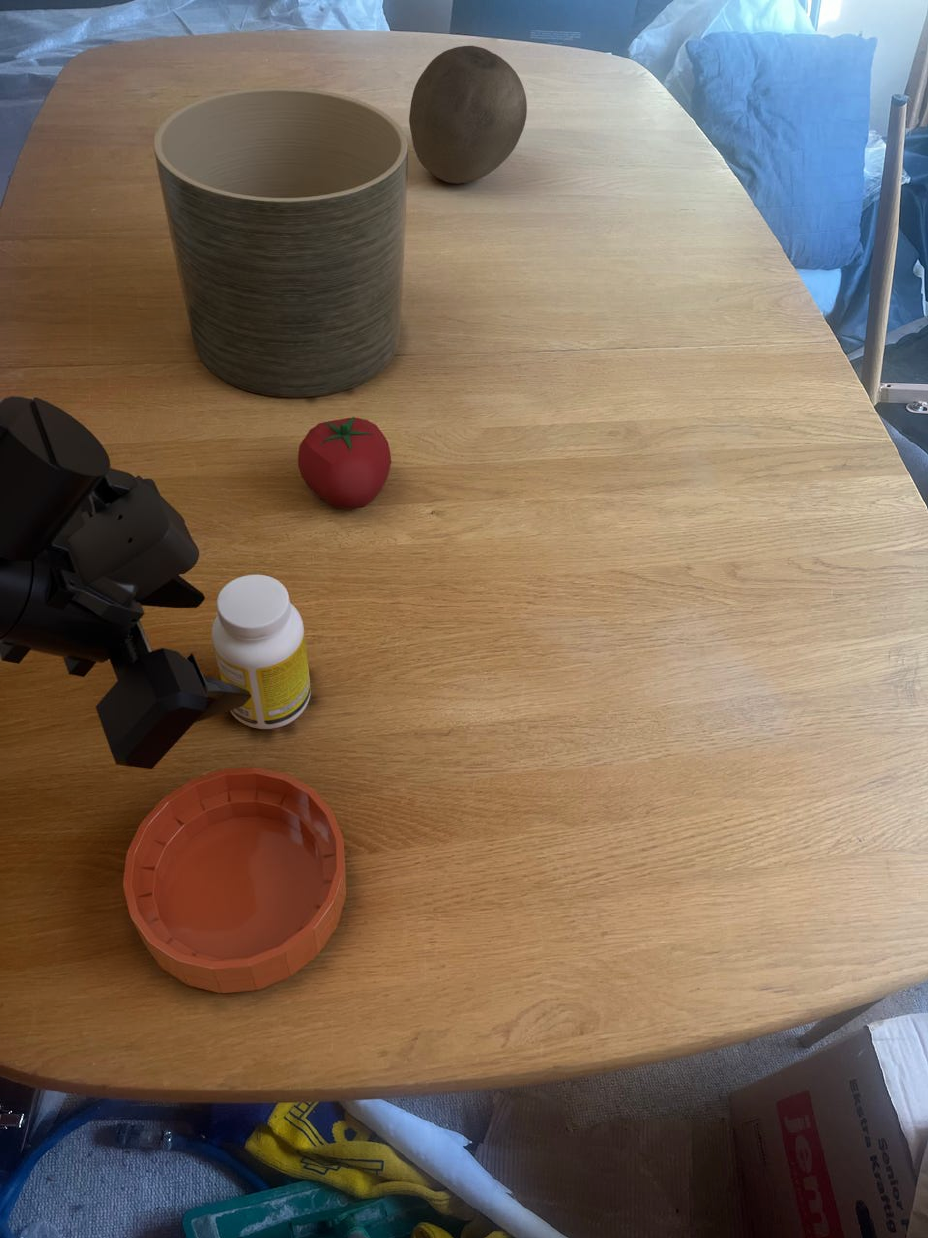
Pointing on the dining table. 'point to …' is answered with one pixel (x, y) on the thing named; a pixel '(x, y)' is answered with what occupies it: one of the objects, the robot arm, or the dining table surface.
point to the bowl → (236, 879)
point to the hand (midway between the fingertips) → (223, 648)
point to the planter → (287, 235)
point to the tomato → (345, 461)
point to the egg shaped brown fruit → (466, 114)
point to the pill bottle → (262, 650)
